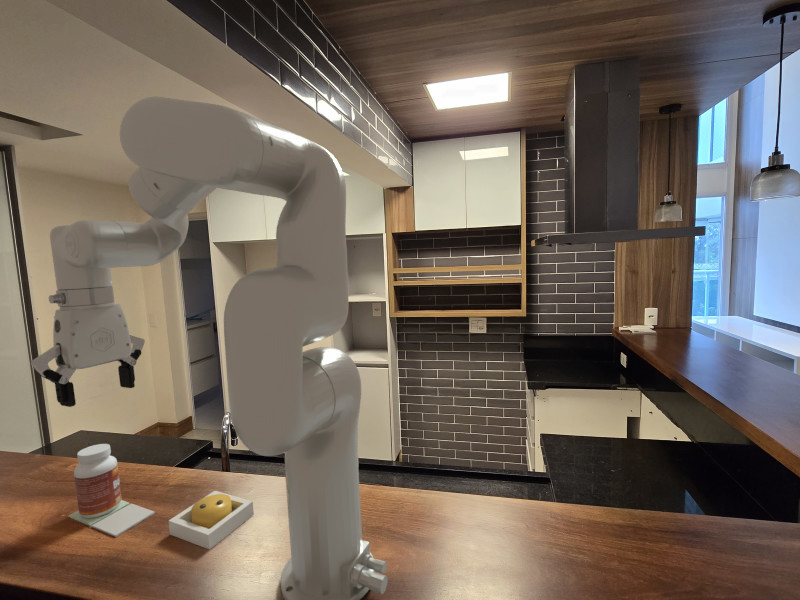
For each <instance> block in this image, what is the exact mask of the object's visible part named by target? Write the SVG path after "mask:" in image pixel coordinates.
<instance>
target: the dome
mask: <svg viewBox="0 0 800 600" xmlns="http://www.w3.org/2000/svg"><path fill="white" fill-rule="evenodd" d="M204 497H205V498H204ZM204 497H203V498H201V499H199V500H198V501H196V502H195V503H193V504H194V505H193V504H192V505H193V507H192V509H191V514H192V523H193V524H196V525H199V526H202V527H205V528H207V529H210V528H211V527H213V526H214V525H215V524H217V523H218V522H220V521H221V520H222V519H224V518H225V517H226V516H228V515H229V514H230V513H232V506H231V498H230V497H229V496H228V495H224V494H216V495H211V496H208V497H206V496H204Z"/></svg>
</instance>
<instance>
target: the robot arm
mask: <svg viewBox="0 0 800 600" xmlns="http://www.w3.org/2000/svg"><path fill="white" fill-rule="evenodd" d="M119 141H120V145H121V148H122V150H123V153H124V154H125V156H127V158H128V159H129V161H131V162H132V163H133V164H134V165H136V166H137V167H138V168H136V169H135V170H134V171H133V172H132V173H131V174H130V177H129V179H128V189H129V193H130V195H131V197H132V199H133V201H134V202H135V203H136V205H137V206H138V207H139V208H140V209H141V210H142V211H143V212H145V213H146V214H147V215H149V216H150V217H151V218H149V220H147V221H145V222H136V221H121V220H101V219H100V220H98V219H96V220H95V219H83V220H82V219H81V220H78V221H75V222H73V223H71V224H66V225H59V226H54V227H53V228H52V229H51V230H50V233H49V239H50V248H51V256H52V262H53V270H54V277H55V284H56V290H55V294H53V295H51V294H50V295H49V296H48V302H49V303H50V304H57V307H59V309H56V310H55V312H54V318H53V319H54V320H53V329H52V330H53V332H52V335H53V346H52V347H51V348H49V349H48V350H46V351H45V352H43V353H42V354H40V355H39V356H37V357H36V358H34V359H32V360H31V361H30V365H31V367H33V368H34V370H35V371H36V372H37V373H39V376H40V377H41V378H43V379H46V380H48V381H50V383H52V384H53V383H54V387H55V395H56V401H57V402H58V403H59V404H60V405H61V406H63V407H67V408H72V407H75V405H76V404H77V403H76V396H75V388H74V383H73V382H72V381H70V379H72V376H73V375H74V373H75V372H76V370H82V369H88V368H92V367H98V366H101V365H105V364H110V363H113V362H118V363H119V364H120V365H118V367H117V369H118V378H119V386H120V387H121V388H126V389H134V388H135V386H136V385H135V381H136V376H135V369H134V366H136V365H137V360H139V358H140V357H141V355H142V350H143V347H144V344H145V342H146V341H145V339H144V338H140V337H138V336H135V335H131V334H130V330H129V327H128V323H127V319H126V316H125V313H124V311H123V308H122V305H121V304H120V303H115V297H114V287H113V279H112V272H111V271H112V270H111V269H114V268H130V267H132V268H133V267H151V266H154V265H158V264H159V263H161V262H162V261H164V260H166V259H167V258H169V257H170V256H171V255H173V254H174V253H175V252H176V251H177V250H179V248H180V247H182V245H183V244H184V243H185V240H186V238H187V234H188V231H189V223H190V222H189V216H188V215H189V214H190V213H191V211H192V210H194V209H195V208H196V207H197V206H198V205H199V204H200V203H202V201H204V200H205V199H206V198H207V197H208V196H209V195H211V194H212V193H213V192H214V191H215V190H216V189H221V190H226V191H234V192H239V193H244V194H251V195H258V196H264V197H272V198H277V199H281V200H283V201H285V204H284V206H283V207H282V210H281V212H280V214H279V218H278V220H277V225H276V231H275V241H276V266H274V267H273V266H272V267H265V268H264V267H262V268H258V269H255V270H252V271H250V272H248V273H245V274H244V275H243V276H241V278H239V279H238V280H237V281H236V282H235V284H234V285H233V286H232V287H231V290H230V291H229V294H228V296H227V299H226V303H225V307H224V312H223V335H224V336H223V338H224V351H225V352H224V353H225V367H226V379H227V394H228V406H229V413H230V418H231V421H232V425H233V428H234V431H235V433H236V435H237V437H238V439H239V440H240V442H242V444H243V446H245V447H246V448H247V449H248V450H249V451H251V452H253V453H254V454H256V455H259V456H264V457H273V456H278V455H282V454H284V471H285V472H284V474H285V489H286V500H287V501H286V502H287V515H288V527H289V528H288V529H289V530H288V531H289V543H290V559H288V561H287V562H286V564H285V565H284V568H283V569H282V572H281V576H280V588H281V589H280V591H281V595H282V598H283V599H284V600H362V598H364V597H365V595H366V594H367V593H368V592H369V590H370V591H371V592H375V593H378V594H381V595H383V594H384V593H385V592H386V589H387V587H388V586H387V585H388V580H389V579H388V575H385V573H386V571H387V568H388V563H387V561H385V560H381V559H378V558H377V559H376V558H374V556H373V554H372V552H371V550H370V547H371V546H370V542H369V541H368V540H367V541H366V540H363V535H362V534H363V533H362V528H363V527H362V514H361V511H362V510H361V494H360V493H361V492H360V476H359V475H360V473H359V466H360V465H359V446H358V444H359V442H358V441H359V436H358V434H359V419H360V410H361V409H360V408H361V399H362V381H361V375H360V372H359V370H358V366H357V365H356V362H355V361H354V360H353V359H352V358H351V356H349V355H348V354H347V353H346V352H344V351H343V350H341V349H339V348H335V347H331V346H330V347H329V346H320V347H314V348H311V349H307V350H304V351H303V349H304V347H305V346H309V345H311V344H314V343H317V342H320V341H322V340H325V339H327V338H329V337H331V336H334V335H335V334H337V333H338V332H339V331H340V330H341V329H342V328H344V325H345V324H346V323H347V318H348V315H349V279H348V277H349V274H348V247H347V235H346V231H347V229H346V224H347V223H346V221H347V220H346V215H347V214H346V213H347V211H346V210H347V188H346V187H347V185H346V180H345V175H344V172H343V169H342V168H341V165H340V164H339V162H338V160H337V158H335V156H334V155H333V154H332V153H331V152H330V151H329V150H327V149H326V148H325V147H323V146H322V145H320V144H318V143H316V142H315V141H312V140H310V139H308V138H306V137H304V136H302V135H300V134H297V133H294V132H292V131H290V130H288V129H285V128H283V127H280V126H277V125H275V124H272V123H269V122H266V121H264V120H262V119H259V118H257V117H255V116H252V115H249V114H247V113H245V112H242V111H239V110H237V109H234V108H231V107H228V106H225V105H220V104H216V103H215V104H214V103H208V102H200V101H194V100H184V99H178V98H172V97H171V98H170V97H164V96H149V97H144V98H141V99H140V100H137V101H136V102H134V104H132V105H131V106H130V107H129V108H128V110H126V112H125V114H124V115H123V117H122V120H121V121H120V127H119ZM52 360H55V363H56V366H58V367H57V368H56V369H55V370H54V369H51V368H50V366H49V362H51V361H52Z"/></svg>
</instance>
